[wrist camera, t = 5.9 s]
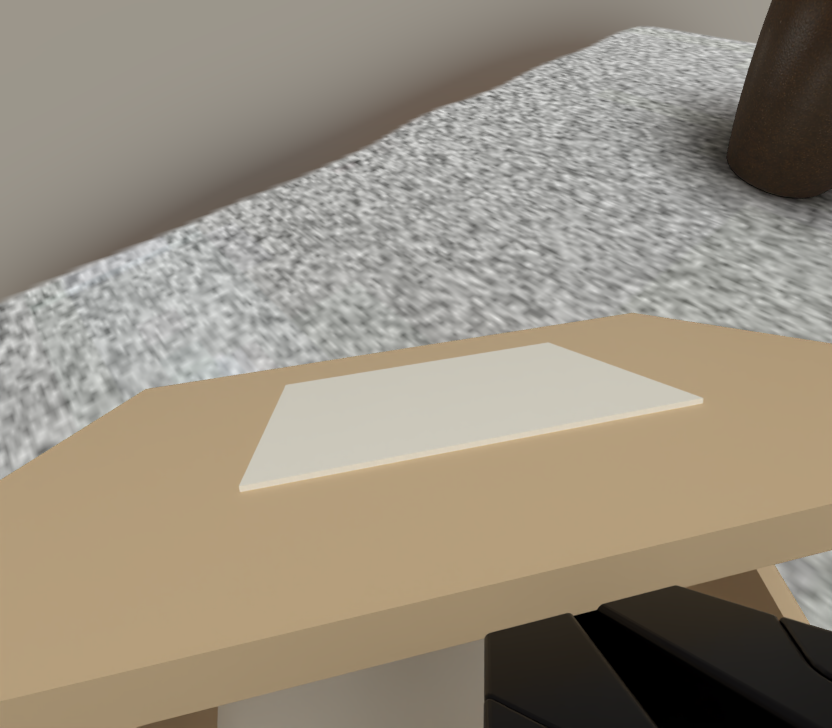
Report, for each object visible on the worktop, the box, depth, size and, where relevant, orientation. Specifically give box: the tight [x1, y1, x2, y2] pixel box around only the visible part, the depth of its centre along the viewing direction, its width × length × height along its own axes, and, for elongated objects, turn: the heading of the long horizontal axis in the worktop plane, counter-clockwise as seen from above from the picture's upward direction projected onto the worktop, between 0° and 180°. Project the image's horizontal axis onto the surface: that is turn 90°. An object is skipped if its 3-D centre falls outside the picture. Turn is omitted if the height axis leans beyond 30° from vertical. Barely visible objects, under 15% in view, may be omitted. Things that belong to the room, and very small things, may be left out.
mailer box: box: [134, 565, 810, 728], centre depth 15 cm, size 12×18×6 cm, turn 102°
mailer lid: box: [0, 313, 832, 728], centre depth 10 cm, size 12×18×1 cm
